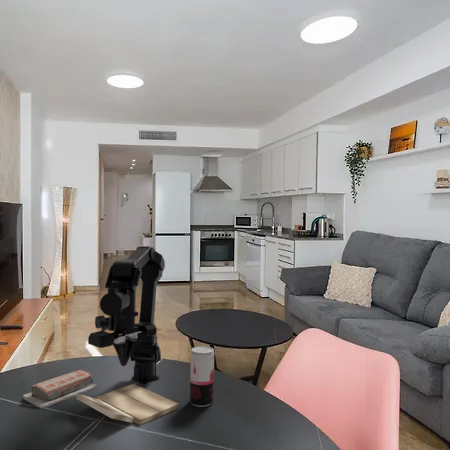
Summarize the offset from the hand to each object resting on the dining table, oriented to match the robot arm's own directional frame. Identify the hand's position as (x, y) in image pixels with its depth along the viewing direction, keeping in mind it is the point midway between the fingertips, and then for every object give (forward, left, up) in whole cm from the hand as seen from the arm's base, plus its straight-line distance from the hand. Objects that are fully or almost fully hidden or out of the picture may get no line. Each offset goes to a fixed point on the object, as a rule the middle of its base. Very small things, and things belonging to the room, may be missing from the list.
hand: (123, 365), depth 114 cm
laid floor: (-4, +1, -12) cm, 12 cm away
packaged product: (+6, -21, -12) cm, 25 cm away
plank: (+7, +1, -10) cm, 12 cm away
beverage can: (-17, +13, -12) cm, 25 cm away
